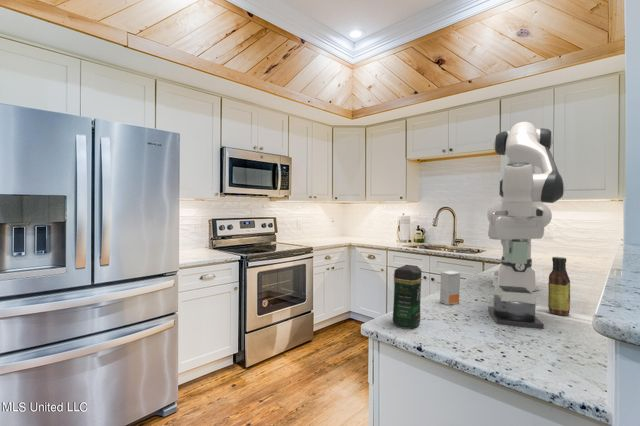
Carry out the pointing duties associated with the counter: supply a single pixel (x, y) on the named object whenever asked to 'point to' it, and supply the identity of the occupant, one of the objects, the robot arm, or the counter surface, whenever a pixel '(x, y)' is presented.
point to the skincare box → (449, 287)
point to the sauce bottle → (559, 288)
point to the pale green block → (517, 252)
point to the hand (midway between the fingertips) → (515, 252)
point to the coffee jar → (407, 296)
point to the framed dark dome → (515, 307)
